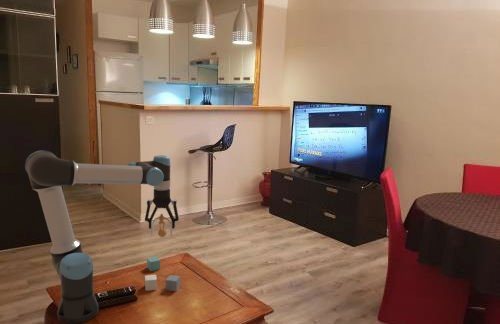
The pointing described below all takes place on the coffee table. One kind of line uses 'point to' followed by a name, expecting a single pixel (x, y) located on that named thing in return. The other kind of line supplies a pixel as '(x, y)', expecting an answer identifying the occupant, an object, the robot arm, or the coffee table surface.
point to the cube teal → (153, 263)
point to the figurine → (162, 231)
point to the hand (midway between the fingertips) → (161, 234)
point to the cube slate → (172, 283)
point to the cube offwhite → (150, 282)
